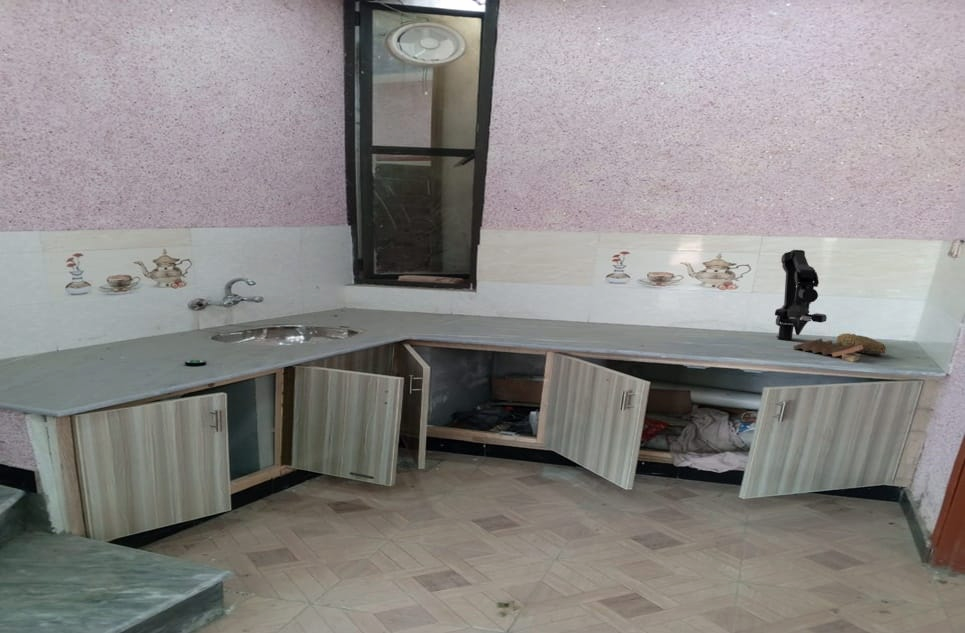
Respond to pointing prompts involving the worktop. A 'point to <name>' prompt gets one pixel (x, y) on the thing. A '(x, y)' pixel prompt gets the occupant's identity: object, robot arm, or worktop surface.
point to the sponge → (862, 343)
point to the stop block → (851, 357)
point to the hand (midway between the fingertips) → (797, 335)
